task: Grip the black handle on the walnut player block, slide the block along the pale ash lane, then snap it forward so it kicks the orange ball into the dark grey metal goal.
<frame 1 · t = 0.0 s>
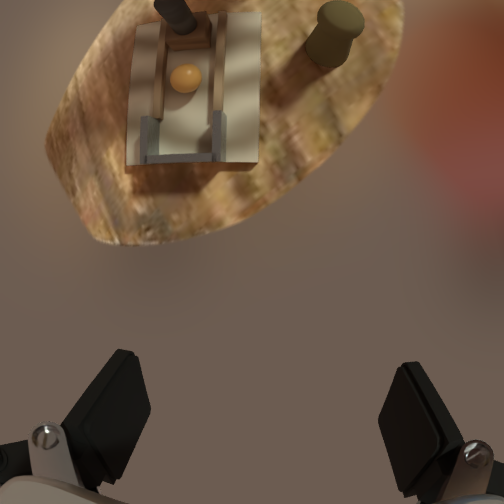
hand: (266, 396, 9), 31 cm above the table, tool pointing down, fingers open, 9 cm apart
lane board: (193, 85, 34), on the table
goal: (188, 139, 35), resting on lane board
ball: (186, 78, 31), point 3 cm above the table, touching lane board
player block: (181, 20, 26), point 7 cm above the table, slide at 0.0 cm
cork: (327, 49, 32), on the table
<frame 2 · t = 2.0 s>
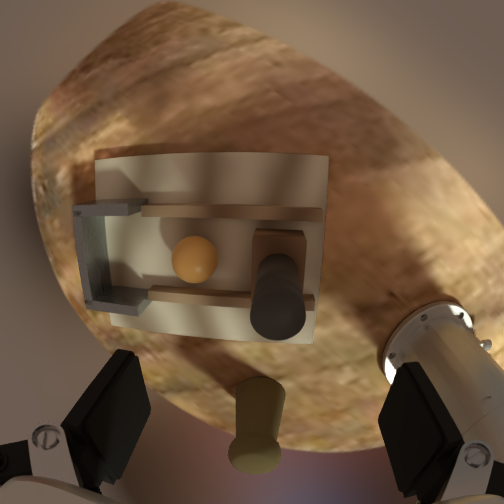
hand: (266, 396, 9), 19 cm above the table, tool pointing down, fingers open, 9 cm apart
lane board: (204, 248, 28), on the table
goal: (123, 249, 27), resting on lane board
ball: (194, 259, 25), point 3 cm above the table, touching lane board
player block: (278, 279, 21), point 7 cm above the table, slide at 0.0 cm
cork: (260, 393, 33), on the table
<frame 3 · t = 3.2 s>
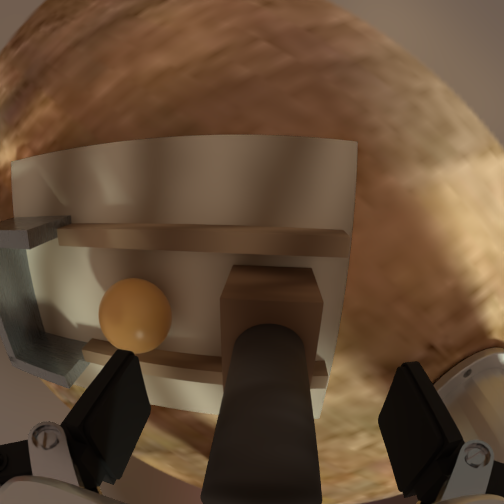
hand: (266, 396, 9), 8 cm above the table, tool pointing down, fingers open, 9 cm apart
lane board: (157, 289, 18), on the table
goal: (50, 287, 17), resting on lane board
ball: (134, 316, 14), point 3 cm above the table, touching lane board
player block: (267, 376, 10), point 7 cm above the table, slide at 0.0 cm
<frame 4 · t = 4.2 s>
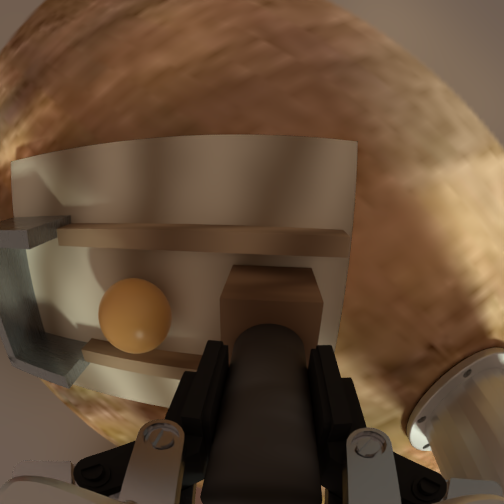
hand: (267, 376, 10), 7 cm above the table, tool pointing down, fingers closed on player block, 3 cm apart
lane board: (157, 289, 18), on the table
goal: (50, 287, 17), resting on lane board
ball: (134, 315, 14), point 3 cm above the table, touching lane board
player block: (267, 376, 10), point 7 cm above the table, slide at 0.0 cm, touching gripper
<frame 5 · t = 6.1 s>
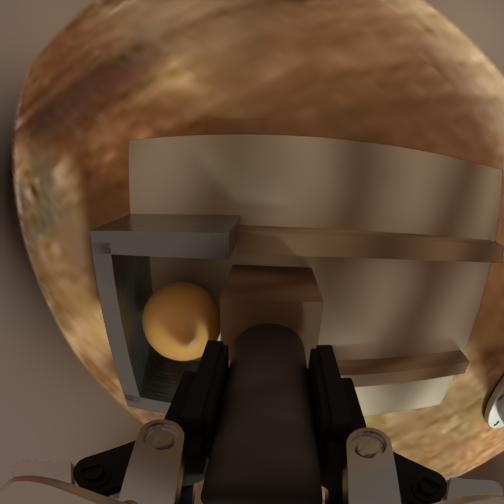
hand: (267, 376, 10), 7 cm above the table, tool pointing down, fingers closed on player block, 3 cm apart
lane board: (326, 298, 17), on the table
goal: (186, 303, 16), resting on lane board
ball: (181, 321, 14), point 3 cm above the table, tilted 142°, touching lane board
player block: (267, 376, 10), point 7 cm above the table, slide at 10.4 cm, touching gripper
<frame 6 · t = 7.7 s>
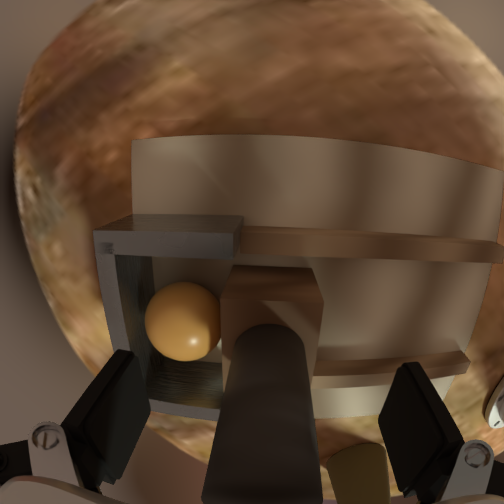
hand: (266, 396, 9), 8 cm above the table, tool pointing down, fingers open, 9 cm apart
lane board: (328, 298, 17), on the table
goal: (189, 303, 16), resting on lane board
ball: (184, 321, 14), point 3 cm above the table, tilted 142°, touching lane board
player block: (268, 376, 10), point 7 cm above the table, slide at 10.5 cm
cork: (356, 458, 22), on the table
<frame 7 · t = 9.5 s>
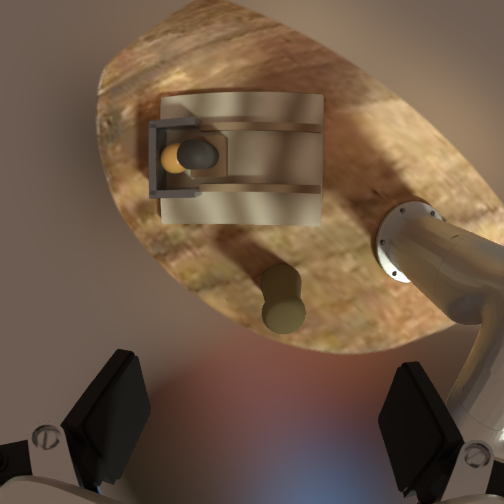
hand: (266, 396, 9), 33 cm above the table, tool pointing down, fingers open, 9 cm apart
lane board: (240, 157, 39), on the table
goal: (180, 158, 38), resting on lane board
ball: (175, 158, 36), point 3 cm above the table, tilted 134°, touching lane board
player block: (203, 155, 32), point 7 cm above the table, slide at 10.5 cm
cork: (281, 282, 44), on the table
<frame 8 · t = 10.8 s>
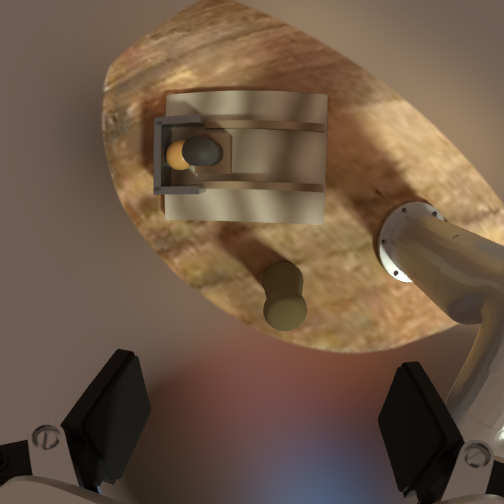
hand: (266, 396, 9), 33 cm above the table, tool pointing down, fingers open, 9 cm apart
lane board: (244, 155, 39), on the table
goal: (184, 155, 38), resting on lane board
ball: (181, 155, 36), point 3 cm above the table, tilted 136°, touching lane board
player block: (208, 152, 32), point 7 cm above the table, slide at 10.5 cm
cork: (282, 280, 44), on the table
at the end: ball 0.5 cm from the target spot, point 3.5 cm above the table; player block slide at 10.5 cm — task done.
